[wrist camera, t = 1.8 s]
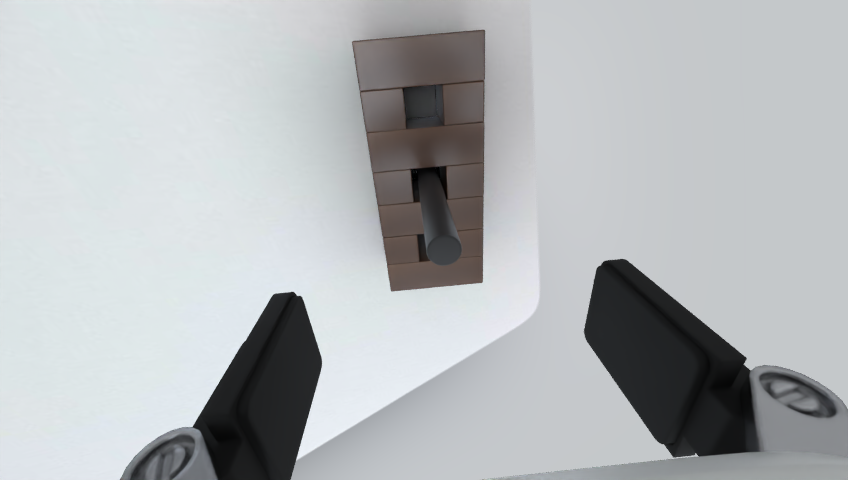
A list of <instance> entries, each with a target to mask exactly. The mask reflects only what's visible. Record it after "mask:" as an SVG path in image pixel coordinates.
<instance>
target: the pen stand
mask: <svg viewBox="0 0 848 480" xmlns="http://www.w3.org/2000/svg"><path fill="white" fill-rule="evenodd" d="M352 45H353V51H354V58H355V64H356V70H357V77H358V83H359V90H360V91H361V92H360V96H361V102H362V109H363V115H364V122H365V128H366V132H367V133H366V134H367V141H368V147H369V154H370V160H371V166H372V172H373V179H374V185H375V192H376V198H377V204H378V210H379V217H380V223H381V229H382V236H383V242H384V249H385V255H386V261H387V268H388V275H389V281H390V287H391V291H401V290H411V289H422V288H432V287H442V286H453V285H463V284H474V283H482V282H483V195H484V163H483V162H484V79H485V30H474V31H463V32H451V33H440V34H428V35H417V36H406V37H394V38H383V39H371V40H360V41H353V42H352ZM429 85H435V91H436V109H437V116H433V117H422V118H411V119H406V110H405V100H404V90H403V88H406V87H417V86H429ZM439 166H440V178H439V179H440V182H441V185H442V188H443V191H444V194H445V197H446V200H447V203H448V206H449V209H450V212H451V215H452V218H453V221H454V224H455V227H456V230H457V233H458V236H459V239H460V242H461V246H462V253H461V255H460V257H459V259H458V260H457V261H456V262H454V263H453V264H450V265H447V266H440V265H436V264H434V263H433V262H432V261H430V259H429V258H428V256H427V252H426V244H425V236H424V228H423V219H422V211H421V203H420V195H419V187H418V180H417V181H412V171H411V169H417V168H428V167H439Z"/></svg>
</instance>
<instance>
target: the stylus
mask: <svg viewBox="0 0 848 480" xmlns="http://www.w3.org/2000/svg"><path fill="white" fill-rule="evenodd" d="M416 170H417V178H418V187H419V195H420V203H421V211H422V219H423V228H424V236H425V244H426V252H427V256H428V258H429V259H430V261H432V262H433V263H434V264H436V265H440V266H447V265H450V264H453V263H454V262H456V261H457V260H458V259H459V257H460V255H461V253H462V246H461V242H460V239H459V236H458V233H457V230H456V227H455V224H454V221H453V218H452V215H451V212H450V209H449V206H448V203H447V200H446V197H445V194H444V191H443V188H442V185H441V182H440V179H439V176H438V173H437V170H436V167H428V168H417V169H416Z"/></svg>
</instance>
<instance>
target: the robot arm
mask: <svg viewBox="0 0 848 480" xmlns="http://www.w3.org/2000/svg"><path fill="white" fill-rule="evenodd" d="M584 334H585V338H586V340H587V342H588V343H589V345H590V346H591V348H592V349H593V351H594V352H595V353H596V355H597V356H598V358H599V359H600V361H601V362H602V363H603V365H604V366H605V368H606V369H607V371H608V372H609V373H610V375H611V376H612V378H613V379H614V381H615V382H616V383H617V385H618V386H619V388H620V389H621V391H622V392H623V394H624V395H625V396H626V398H627V399H628V401H629V402H630V404H631V405H632V406H633V408H634V409H635V411H636V412H637V413H638V415H639V416H640V417H641V419H642V421H643V422H644V424H645V425H646V426H647V428H648V429H649V431H650V432H651V434H652V435H653V436H654V438H655V439H656V440H657V441H658V442H659V443H661V444H664V445H665V446H666V448H667V449H668V450H669V452H670V453H671V455H672V456H673V457H682V456H691V455H695V453H696V454H697V455H698V456H699V457H688V458H678V459H668V460H658V461H649V462H640V463H630V464H621V465H611V466H602V467H592V468H583V469H573V470H565V471H555V472H546V473H538V474H528V475H519V476H510V477H501V478H492V479H484V480H848V409H847V407H846V406H845V404H844V403H843V401H842V400H841V399H840V398H839V397H837V395H835V394H834V393H833V392H832V391H831V390H829V389H828V388H826V387H825V386H823V385H822V384H820V383H819V382H817V381H815V380H813V379H811V378H809V377H807V376H805V375H803V374H801V373H798V372H795V371H793V370H790V369H786V368H782V367H778V366H768V365H763V366H758V367H755V368H754V369H753V370H749V369H748V368H747V367H746V366H745V365H743V364H744V363H745V361H746V357H744V356H743V355H742V354H741V353H740V352H738V351H737V350H736V349H735V348H734V347H732V346H731V345H730V344H729V343H727V342H726V341H725V340H724V339H722V338H721V337H720V336H719V335H718V334H716V333H715V332H714V331H713V330H712V329H710V328H709V327H708V326H707V325H705V324H704V323H703V322H702V321H701V320H699V319H698V318H697V317H696V316H694V315H693V314H692V313H690V311H688V310H687V309H686V308H685V307H683V306H682V305H681V304H680V303H678V302H677V301H676V300H675V299H673V298H672V297H671V296H670V295H668V294H667V293H666V292H665V291H664V290H662V289H661V288H660V287H659V286H658V285H656V284H655V283H654V282H653V281H652V280H650V279H649V278H648V277H646V276H645V275H644V274H643V273H642V272H641V271H639V270H638V269H637V268H636V267H634V266H633V265H632V264H631V263H629V262H628V261H627V260H625V259H618V260H608V261H604V262H603V263H602V265H601V266H599V267H598V268H597V270H596V275H595V279H594V284H593V289H592V294H591V299H590V304H589V309H588V314H587V319H586V324H585V329H584ZM321 367H322V359H321V355H320V352H319V349H318V345H317V342H316V339H315V336H314V333H313V330H312V326H311V323H310V320H309V317H308V314H307V311H306V308H305V304H304V301H303V299H302V297H301V296H297V295H296V294H295V293H294V292H288V293H278V294H274V295H273V296H272V297H271V299H270V301H269V303H268V304H267V306H266V308H265V309H264V311H263V313H262V314H261V316H260V318H259V319H258V321H257V323H256V324H255V326H254V328H253V329H252V331H251V333H250V334H249V336H248V338H247V340H246V341H245V342H244V343H243V344H242V346H241V347H240V349H239V350H238V352H237V354H236V355H235V357H234V359H233V360H232V362H231V364H230V365H229V367H228V369H227V370H226V372H225V374H224V375H223V377H222V379H221V380H220V382H219V384H218V385H217V387H216V389H215V390H214V392H213V394H212V395H211V397H210V399H209V400H208V402H207V404H206V405H205V407H204V409H203V410H202V412H201V414H200V415H199V417H198V419H197V420H196V422H195V424H194V425H193V427H182V428H179V429H175V430H172V431H169V432H167V433H165V434H163V435H161V436H160V437H158V438H156V439H155V440H154V441H152V442H151V443H149V444H148V445H147V446H145V447H144V448H143V449H142V450H141V451H140V452H139V453H138V454H137V455H136V456H135V457H134V458H133V460H132V461H131V462H130V463H129V465H128V466H127V467H126V469H125V471H124V473H123V475H122V477H121V479H120V480H290V479H291V476H292V472H293V469H294V465H295V462H296V458H297V454H298V451H299V447H300V444H301V440H302V436H303V433H304V429H305V426H306V422H307V418H308V415H309V411H310V408H311V404H312V400H313V397H314V393H315V390H316V386H317V383H318V379H319V375H320V372H321Z"/></svg>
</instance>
